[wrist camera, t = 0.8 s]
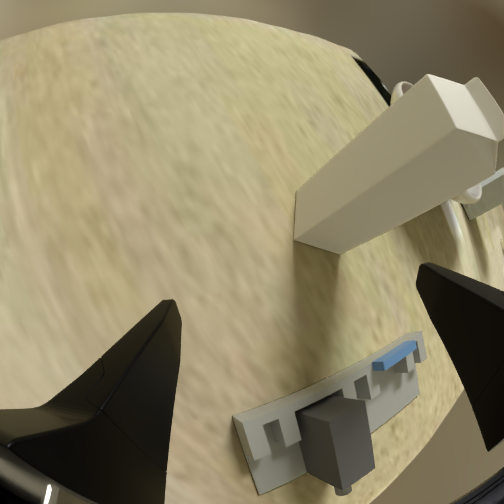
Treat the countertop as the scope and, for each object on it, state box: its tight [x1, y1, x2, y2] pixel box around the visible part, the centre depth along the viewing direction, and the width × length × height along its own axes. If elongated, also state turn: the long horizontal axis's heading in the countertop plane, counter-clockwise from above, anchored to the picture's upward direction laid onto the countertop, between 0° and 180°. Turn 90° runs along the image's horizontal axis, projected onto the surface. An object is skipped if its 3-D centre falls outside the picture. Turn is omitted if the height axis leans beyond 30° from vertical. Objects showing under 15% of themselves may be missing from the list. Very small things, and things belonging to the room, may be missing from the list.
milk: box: [294, 74, 504, 255], centre depth 20 cm, size 6×6×22 cm
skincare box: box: [462, 167, 504, 220], centre depth 46 cm, size 8×6×15 cm
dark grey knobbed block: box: [295, 395, 375, 496], centre depth 19 cm, size 10×4×6 cm, turn 16°
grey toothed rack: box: [232, 331, 427, 495], centre depth 23 cm, size 9×24×4 cm, turn 106°
